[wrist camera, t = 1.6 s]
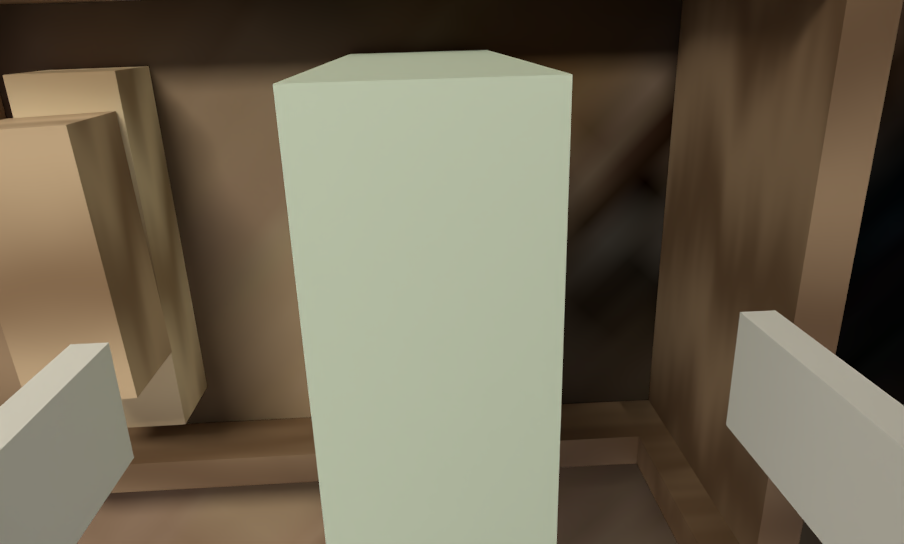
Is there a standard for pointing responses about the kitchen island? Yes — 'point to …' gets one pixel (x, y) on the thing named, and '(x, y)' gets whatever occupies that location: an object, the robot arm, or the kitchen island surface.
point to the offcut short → (75, 249)
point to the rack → (677, 267)
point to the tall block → (431, 290)
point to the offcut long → (140, 130)
